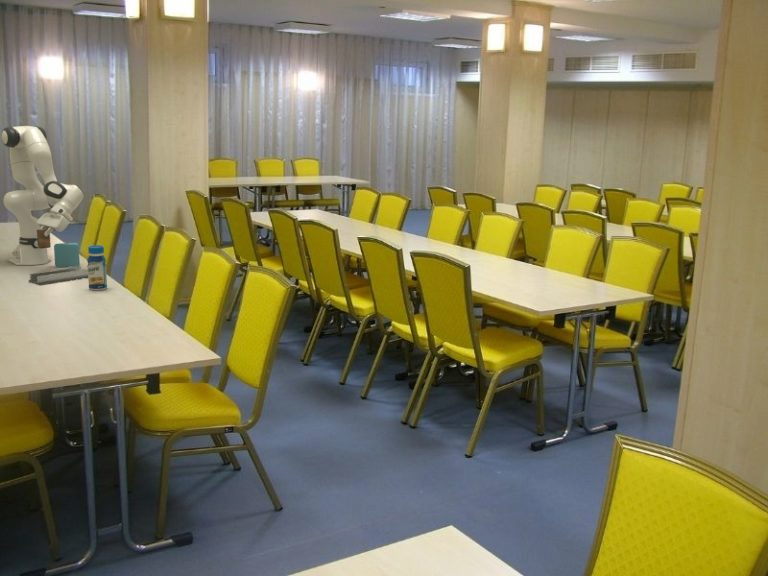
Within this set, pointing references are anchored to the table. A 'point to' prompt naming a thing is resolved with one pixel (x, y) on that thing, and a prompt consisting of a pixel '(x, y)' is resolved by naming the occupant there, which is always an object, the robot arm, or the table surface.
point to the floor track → (58, 276)
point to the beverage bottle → (97, 268)
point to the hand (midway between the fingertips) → (42, 234)
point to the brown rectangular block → (43, 239)
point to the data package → (66, 254)
